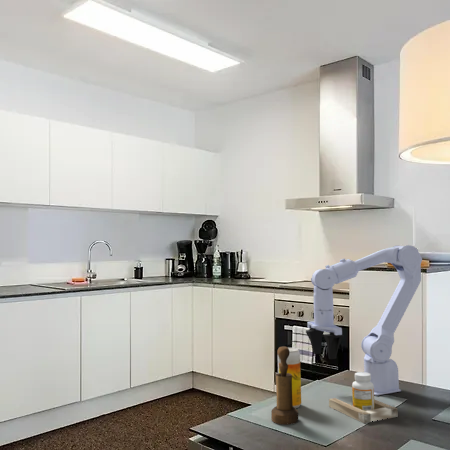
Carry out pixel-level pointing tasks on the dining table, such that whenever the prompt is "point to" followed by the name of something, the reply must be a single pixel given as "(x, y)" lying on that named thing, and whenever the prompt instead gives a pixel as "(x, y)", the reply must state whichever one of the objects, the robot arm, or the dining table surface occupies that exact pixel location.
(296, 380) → the beer can
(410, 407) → the dining table surface
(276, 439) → the dining table surface
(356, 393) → the supplement bottle
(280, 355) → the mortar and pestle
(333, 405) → the slide channel
